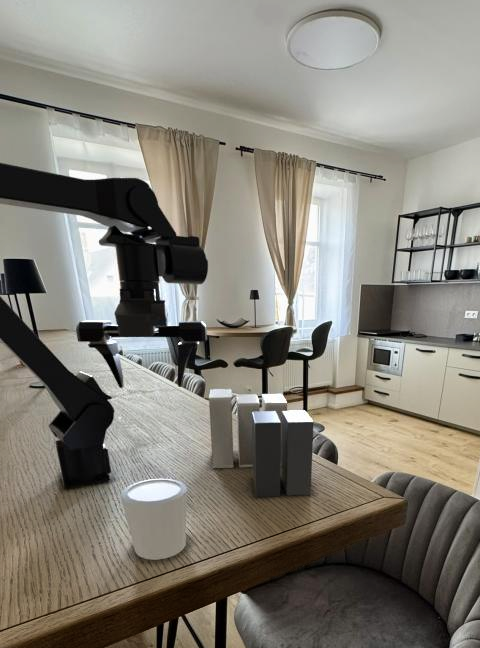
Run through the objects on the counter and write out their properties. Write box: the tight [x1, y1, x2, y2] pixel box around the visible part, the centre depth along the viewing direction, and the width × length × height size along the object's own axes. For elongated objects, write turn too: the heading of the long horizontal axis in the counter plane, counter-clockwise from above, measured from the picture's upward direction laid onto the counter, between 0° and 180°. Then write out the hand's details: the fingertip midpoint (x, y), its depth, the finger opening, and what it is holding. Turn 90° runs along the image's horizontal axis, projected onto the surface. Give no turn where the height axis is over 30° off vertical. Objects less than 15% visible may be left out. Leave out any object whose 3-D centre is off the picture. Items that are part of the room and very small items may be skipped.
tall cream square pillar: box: [208, 388, 235, 469], centre depth 70 cm, size 4×7×12 cm, turn 7°
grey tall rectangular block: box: [236, 393, 261, 468], centre depth 71 cm, size 4×7×11 cm, turn 7°
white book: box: [261, 393, 288, 467], centre depth 72 cm, size 4×7×11 cm, turn 7°
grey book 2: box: [280, 410, 315, 497], centre depth 61 cm, size 4×6×11 cm, turn 7°
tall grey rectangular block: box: [252, 410, 281, 498], centre depth 60 cm, size 4×6×11 cm, turn 7°
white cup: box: [120, 478, 188, 561], centre depth 46 cm, size 7×7×7 cm
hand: (151, 387), depth 67 cm, fingers open, 9 cm apart
